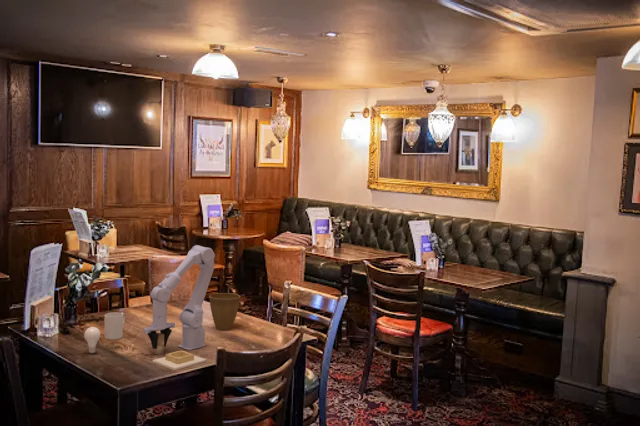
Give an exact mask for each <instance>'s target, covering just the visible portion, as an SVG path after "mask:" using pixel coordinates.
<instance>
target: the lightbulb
mask: <svg viewBox="0 0 640 426" xmlns="http://www.w3.org/2000/svg"><path fill="white" fill-rule="evenodd" d="M101 335H102V333H101V330H100V329H99V328H98V327H96V326H90V327H88V328H87V329H86V330H85V331H84V333H83V337H84V340H85V341H86V342H87V346H88V352H89V353H90V354H95V353H96V351H97V350H96V348H97V347H96V346H97V344H98V341H99V339H100V338H101Z"/></svg>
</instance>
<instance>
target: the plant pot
mask: <svg viewBox="0 0 640 426" xmlns="http://www.w3.org/2000/svg"><path fill="white" fill-rule="evenodd" d="M208 298H209V305H210V312H211V315H212V316H211V317H212V320H213V322H214V323H213V324H214V326H215V328H216V330H218V331H229V329H230V330H231V329H232V328H233V326H234V323H235V321H236V317H237V314H238V310H239V306H240V301H241V295H239V294H237V293H231V292H230V293H229V292H220V293H219V292H217V293H212V294H210V295H209V297H208Z"/></svg>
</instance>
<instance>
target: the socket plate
mask: <svg viewBox="0 0 640 426" xmlns="http://www.w3.org/2000/svg"><path fill="white" fill-rule="evenodd" d="M207 360H208V359H206V358H204V357H200V356H198V355H195V354H193V353H191V352H187V351H185V350H178V351H174V352H170V353H169V352H168V353H166V354H165V356H164V357H159V358H156V359H153V360H152V363H154V364H157V365H159V366H162V367H165V368H167V369H169V370H173V371H177V370H181V369H184V368H188V367H192V366H196V365H199V364H203V363H206V362H208V361H207Z"/></svg>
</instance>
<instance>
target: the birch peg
mask: <svg viewBox="0 0 640 426" xmlns="http://www.w3.org/2000/svg"><path fill="white" fill-rule="evenodd" d="M157 333H158V334H159V336H158V340H157V349H154V348H153V353H154V355H164V353H165V347H164V333H160V332H157Z"/></svg>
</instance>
